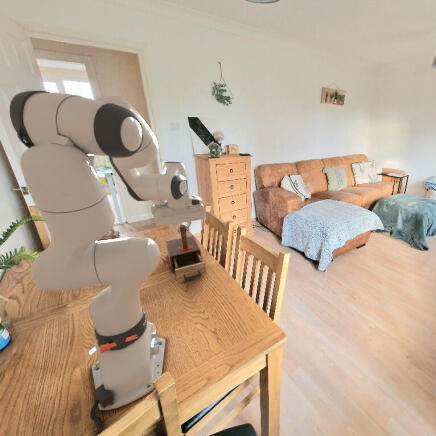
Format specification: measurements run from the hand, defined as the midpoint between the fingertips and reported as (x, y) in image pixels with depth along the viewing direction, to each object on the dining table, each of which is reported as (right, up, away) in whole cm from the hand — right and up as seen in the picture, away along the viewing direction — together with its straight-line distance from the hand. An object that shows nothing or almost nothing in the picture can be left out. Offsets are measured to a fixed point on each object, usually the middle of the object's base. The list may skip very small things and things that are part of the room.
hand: (183, 231), depth 103 cm
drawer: (0, -20, +8) cm, 21 cm away
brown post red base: (0, -8, +3) cm, 9 cm away
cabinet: (-8, -16, +19) cm, 26 cm away
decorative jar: (-42, -17, +14) cm, 47 cm away
